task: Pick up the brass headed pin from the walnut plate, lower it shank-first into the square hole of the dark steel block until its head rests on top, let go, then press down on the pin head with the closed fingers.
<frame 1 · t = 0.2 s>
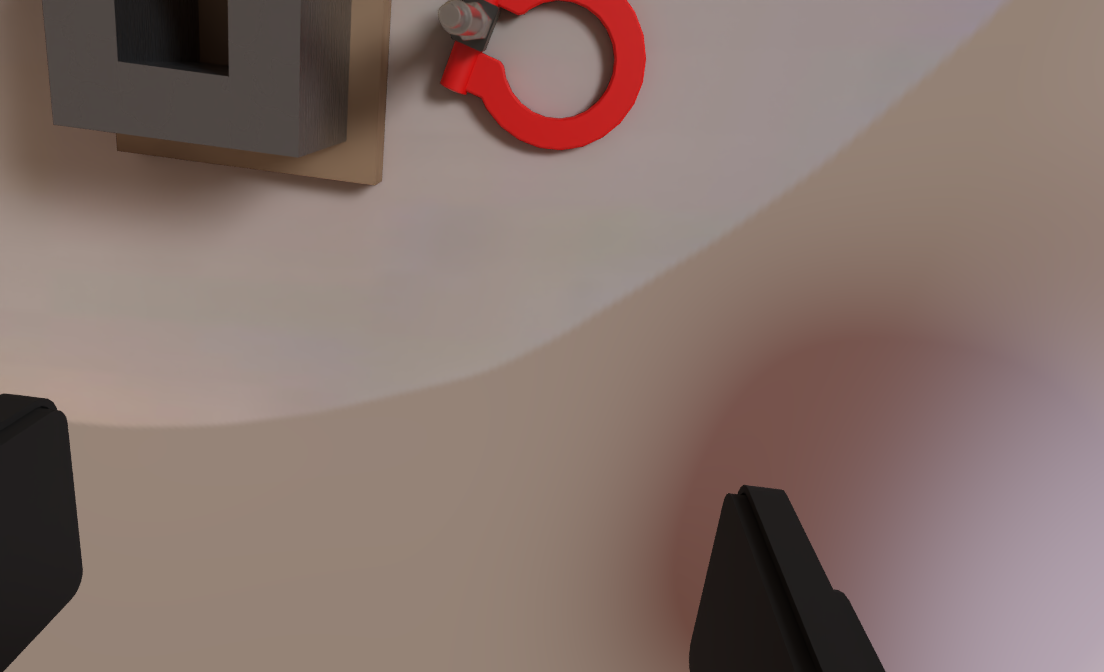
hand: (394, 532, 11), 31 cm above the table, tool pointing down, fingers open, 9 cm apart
hitch block: (245, 18, 36), resting on mount plate
tow hook: (551, 57, 38), on the table
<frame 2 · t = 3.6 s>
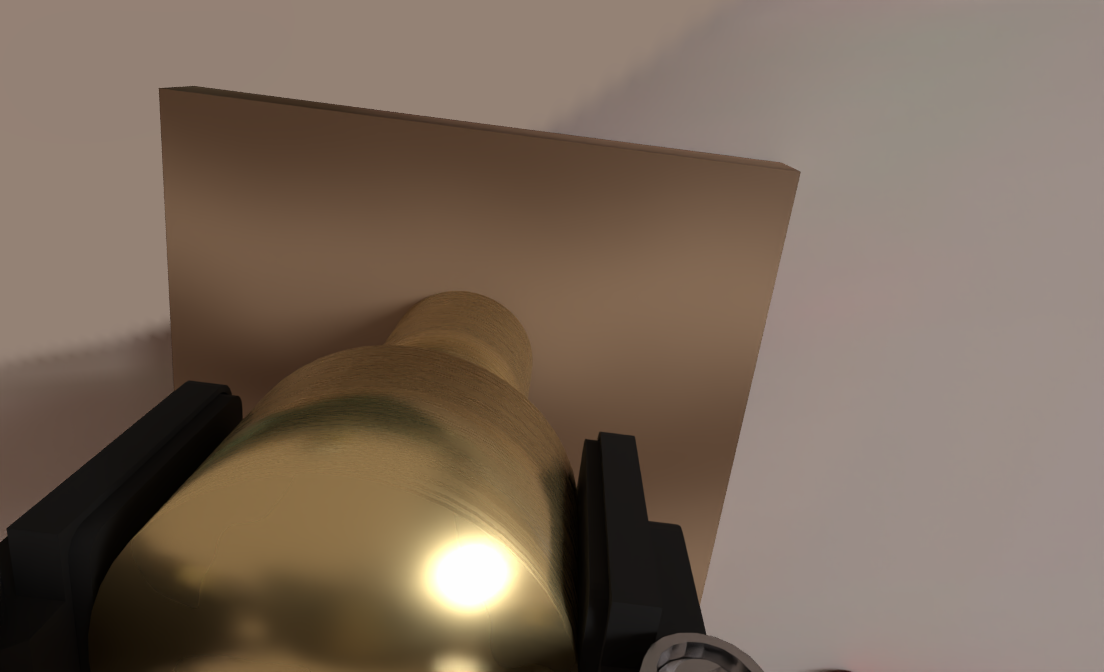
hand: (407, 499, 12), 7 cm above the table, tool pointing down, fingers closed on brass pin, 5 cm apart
mount plate: (446, 590, 21), on the table
brass pin: (461, 359, 17), point 2 cm above the table, touching gripper, mount plate
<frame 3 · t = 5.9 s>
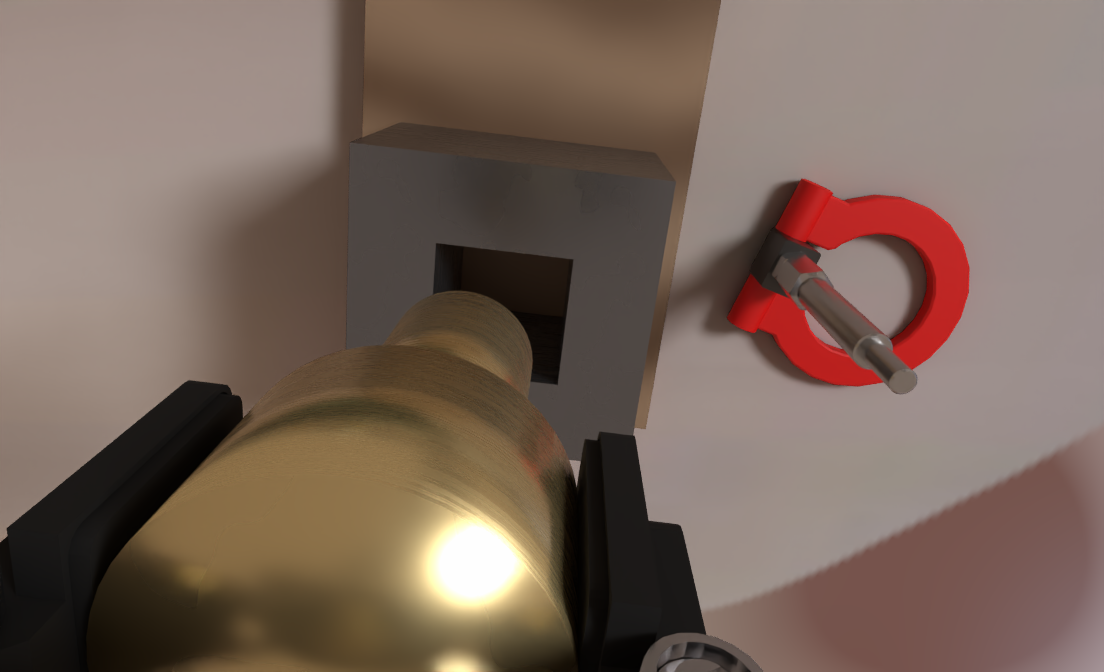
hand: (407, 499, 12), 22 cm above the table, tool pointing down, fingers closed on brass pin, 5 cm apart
hitch block: (516, 260, 31), resting on mount plate
tow hook: (850, 284, 33), on the table
mount plate: (531, 120, 31), on the table
brass pin: (461, 359, 17), point 16 cm above the table, touching gripper
when the fingers open (10 cm above the table, at t = 8.6 s): brass pin drops 1 cm, resting on hitch block.
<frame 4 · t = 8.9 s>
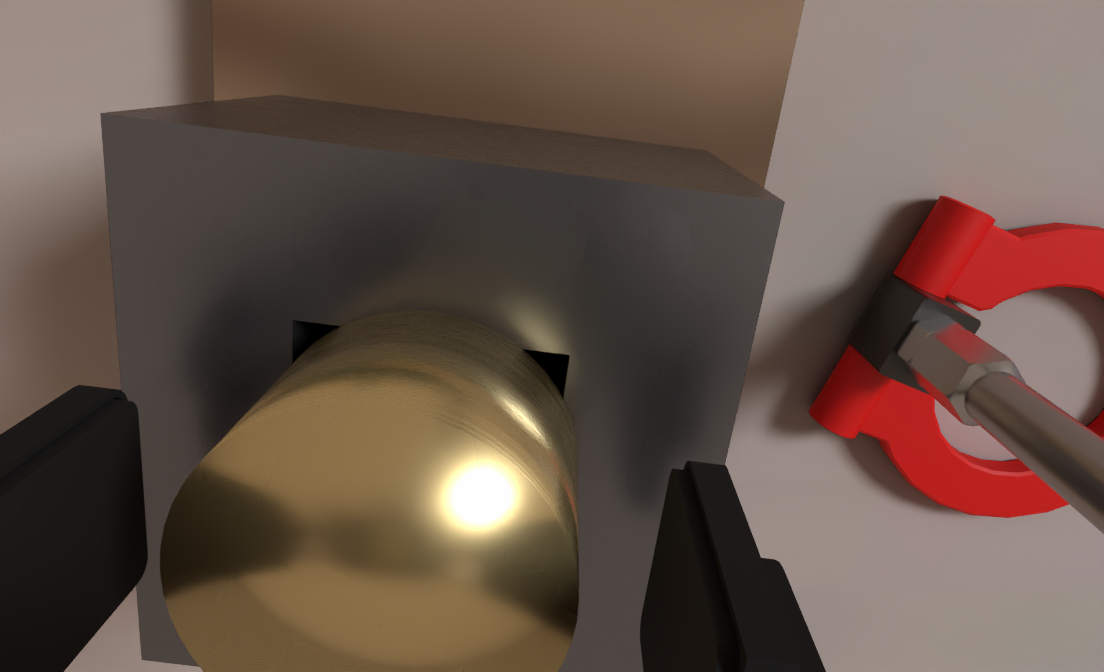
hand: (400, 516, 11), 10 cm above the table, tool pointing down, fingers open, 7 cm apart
hitch block: (474, 324, 19), resting on mount plate
tow hook: (1001, 361, 21), on the table
mount plate: (501, 97, 19), on the table
brass pin: (469, 336, 18), point 2 cm above the table, touching hitch block
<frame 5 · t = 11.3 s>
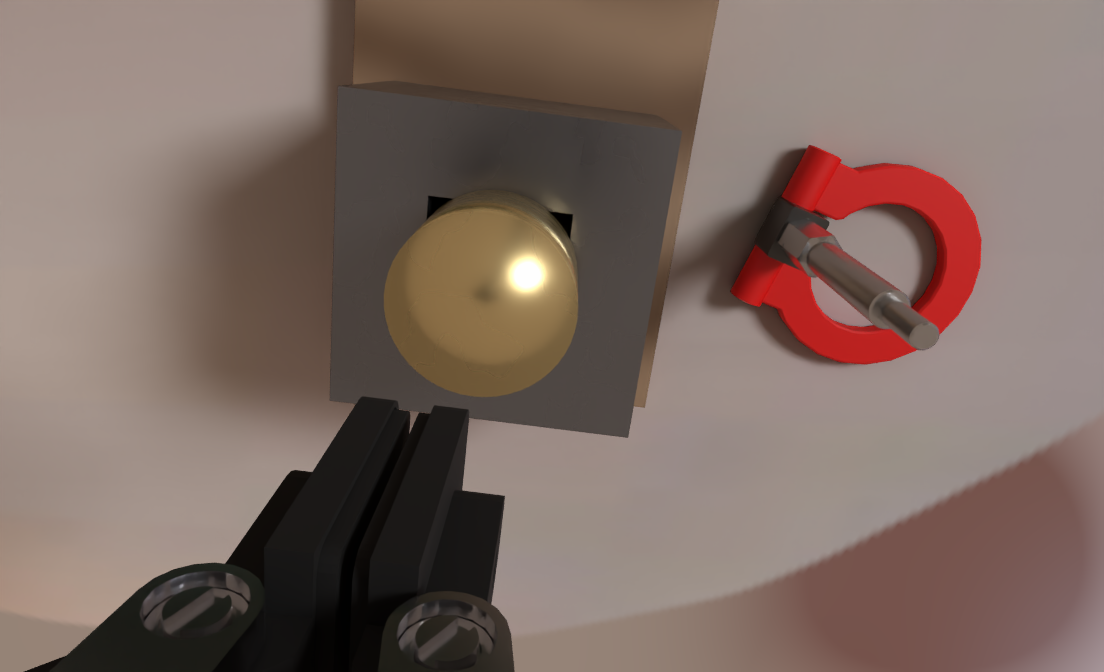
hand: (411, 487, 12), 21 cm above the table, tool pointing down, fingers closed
hitch block: (511, 228, 30), resting on mount plate
tow hook: (858, 258, 32), on the table
mount plate: (529, 82, 30), on the table
brass pin: (509, 232, 29), point 2 cm above the table, touching hitch block
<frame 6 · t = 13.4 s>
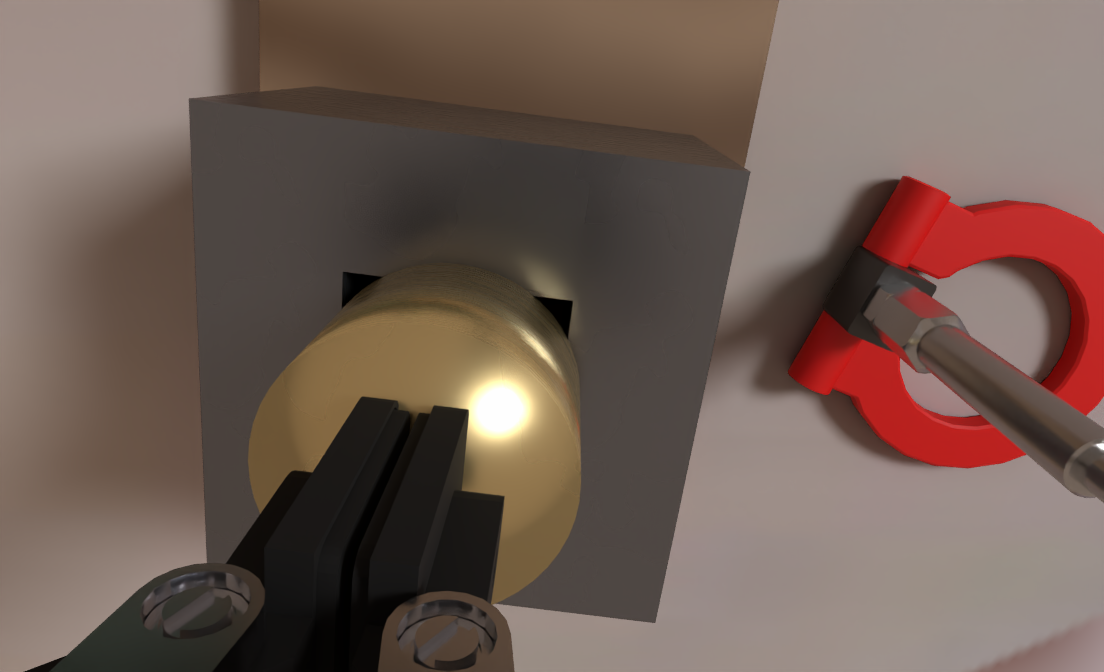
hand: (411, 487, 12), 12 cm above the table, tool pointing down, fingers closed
hitch block: (487, 291, 22), resting on mount plate
tow hook: (961, 326, 24), on the table
mount plate: (512, 88, 21), on the table
brass pin: (483, 300, 21), point 2 cm above the table, touching gripper, hitch block
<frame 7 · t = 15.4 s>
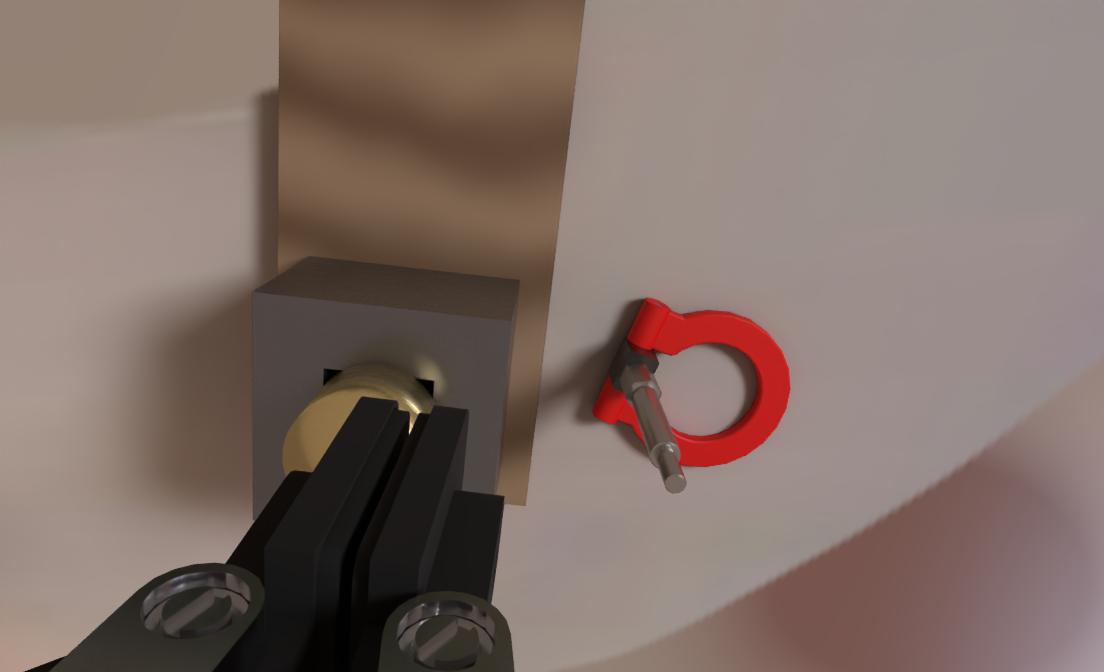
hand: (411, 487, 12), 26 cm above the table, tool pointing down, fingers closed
hitch block: (409, 366, 37), resting on mount plate
tow hook: (696, 381, 40), on the table
mount plate: (421, 251, 37), on the table
brass pin: (405, 373, 36), point 2 cm above the table, touching hitch block
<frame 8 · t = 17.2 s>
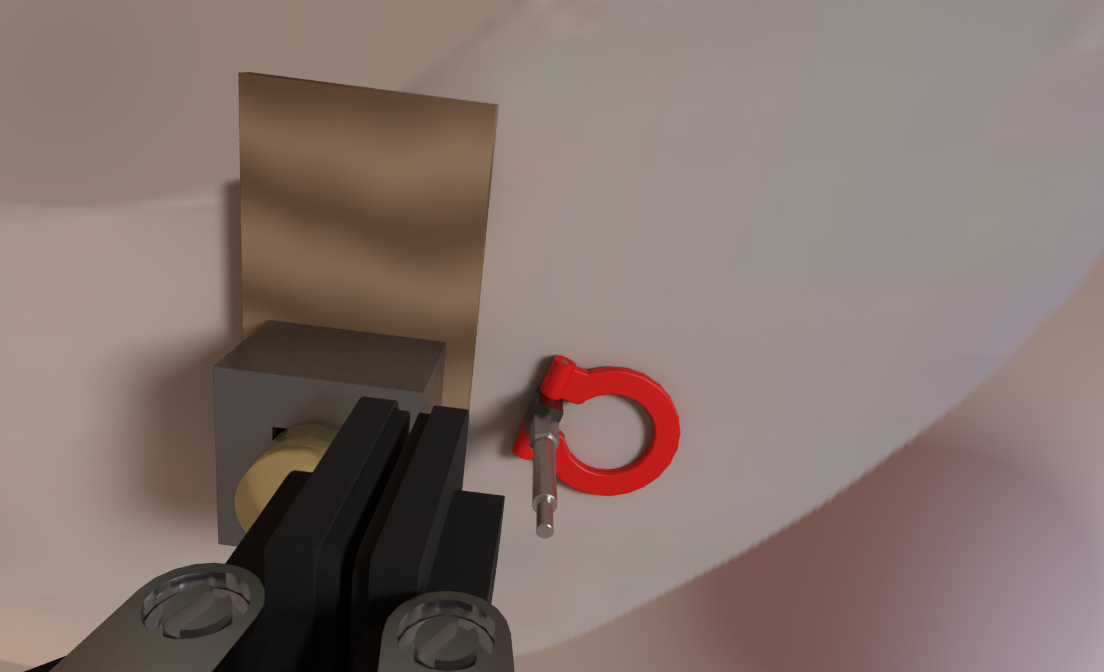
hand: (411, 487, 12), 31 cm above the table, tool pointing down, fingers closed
hitch block: (354, 411, 44), resting on mount plate
tow hook: (602, 424, 46), on the table
mount plate: (365, 314, 44), on the table
brass pin: (350, 417, 43), point 2 cm above the table, touching hitch block
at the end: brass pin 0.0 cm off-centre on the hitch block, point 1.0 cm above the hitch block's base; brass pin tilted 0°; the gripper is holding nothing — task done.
